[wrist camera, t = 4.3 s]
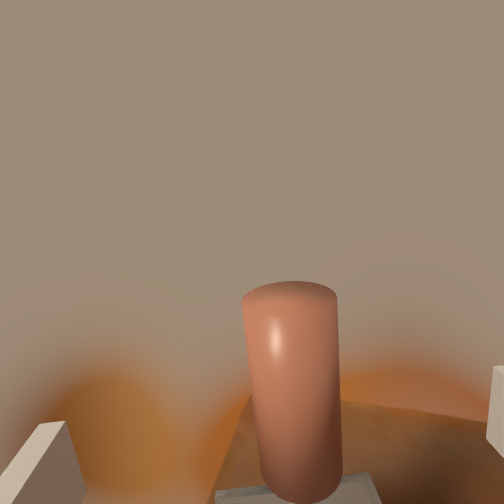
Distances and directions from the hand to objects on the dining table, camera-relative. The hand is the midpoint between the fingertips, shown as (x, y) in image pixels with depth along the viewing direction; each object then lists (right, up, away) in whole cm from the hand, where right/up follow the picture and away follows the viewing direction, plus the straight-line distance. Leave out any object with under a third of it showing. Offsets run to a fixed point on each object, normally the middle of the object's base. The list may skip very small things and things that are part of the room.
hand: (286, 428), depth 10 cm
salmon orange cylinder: (+3, -19, +9) cm, 21 cm away
